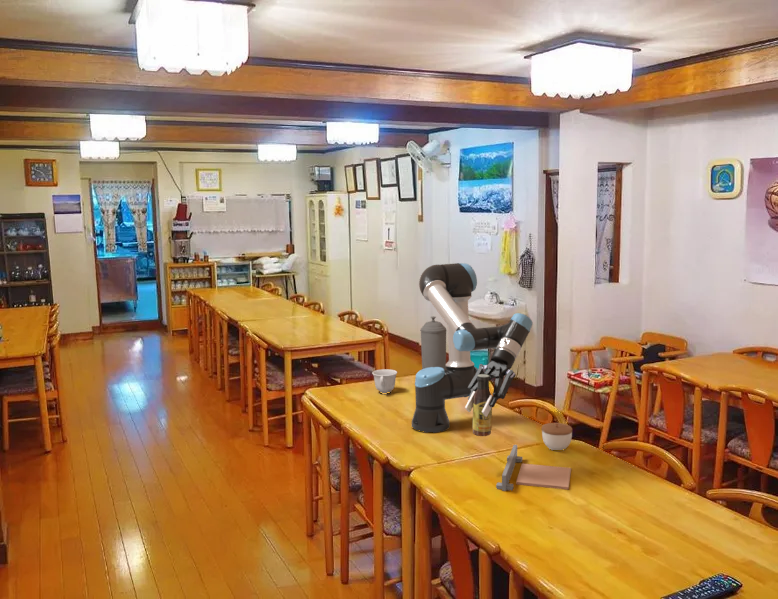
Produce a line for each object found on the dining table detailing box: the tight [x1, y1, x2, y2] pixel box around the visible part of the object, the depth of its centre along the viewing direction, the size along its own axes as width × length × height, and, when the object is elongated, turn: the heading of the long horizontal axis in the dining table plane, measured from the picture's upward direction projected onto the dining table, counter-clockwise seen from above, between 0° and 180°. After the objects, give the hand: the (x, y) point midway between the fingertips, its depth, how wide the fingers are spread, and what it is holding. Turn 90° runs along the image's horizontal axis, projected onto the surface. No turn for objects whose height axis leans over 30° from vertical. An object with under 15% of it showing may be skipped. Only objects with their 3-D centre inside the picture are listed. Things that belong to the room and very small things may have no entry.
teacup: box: [371, 368, 398, 393], centre depth 322 cm, size 12×15×10 cm
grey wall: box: [495, 444, 523, 492], centre depth 223 cm, size 5×28×5 cm, turn 162°
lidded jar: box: [541, 422, 573, 451], centre depth 246 cm, size 11×11×9 cm
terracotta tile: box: [515, 462, 572, 490], centre depth 220 cm, size 16×16×1 cm
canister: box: [420, 316, 448, 370], centre depth 329 cm, size 13×13×35 cm
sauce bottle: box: [472, 374, 493, 437], centre depth 224 cm, size 7×6×20 cm
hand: (475, 411), depth 221 cm, fingers closed on sauce bottle, 6 cm apart
